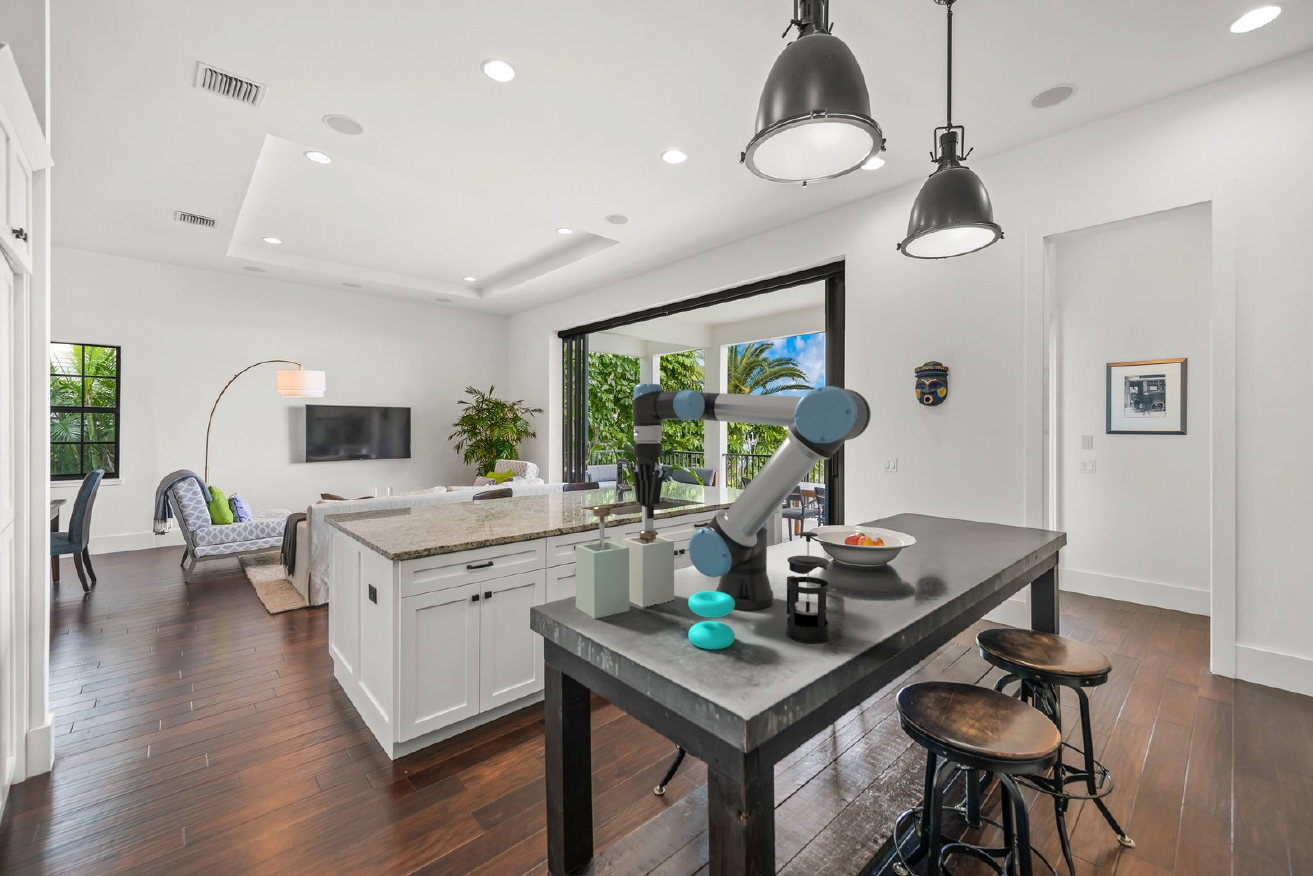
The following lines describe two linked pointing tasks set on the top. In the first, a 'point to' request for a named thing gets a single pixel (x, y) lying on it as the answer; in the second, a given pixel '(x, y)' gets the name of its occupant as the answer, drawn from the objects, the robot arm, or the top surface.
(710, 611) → the donuts
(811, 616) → the french press
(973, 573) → the top surface
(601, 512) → the plunger
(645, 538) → the plunger
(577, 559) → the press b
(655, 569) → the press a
